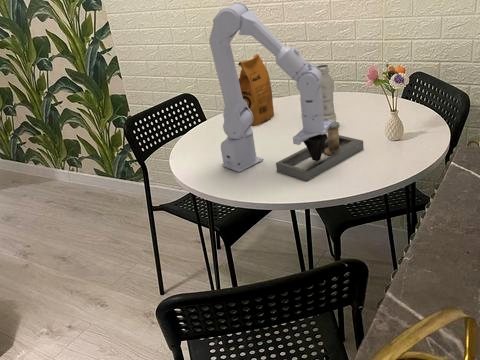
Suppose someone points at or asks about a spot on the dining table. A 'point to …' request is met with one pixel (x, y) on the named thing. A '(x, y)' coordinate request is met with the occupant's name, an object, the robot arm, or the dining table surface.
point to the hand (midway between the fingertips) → (316, 159)
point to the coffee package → (256, 89)
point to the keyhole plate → (338, 155)
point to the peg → (332, 139)
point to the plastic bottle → (327, 94)
